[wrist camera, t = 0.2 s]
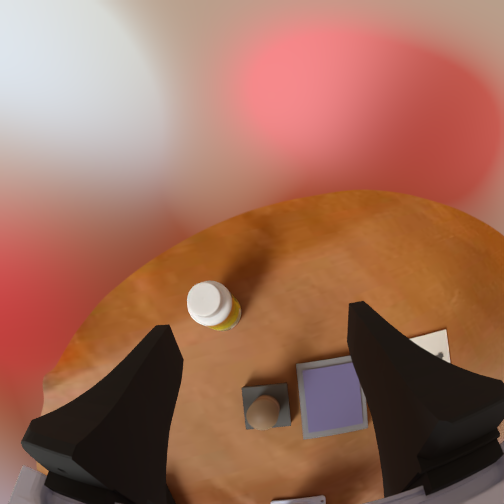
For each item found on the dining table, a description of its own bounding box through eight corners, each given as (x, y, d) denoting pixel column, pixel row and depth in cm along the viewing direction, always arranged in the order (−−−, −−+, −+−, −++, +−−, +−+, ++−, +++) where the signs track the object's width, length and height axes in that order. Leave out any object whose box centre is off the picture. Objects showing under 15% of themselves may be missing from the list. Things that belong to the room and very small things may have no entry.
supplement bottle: (249, 304, 43) (236, 289, 33) (230, 338, 41) (212, 332, 32) (216, 287, 44) (195, 267, 35) (197, 319, 43) (171, 308, 33)
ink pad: (365, 426, 34) (368, 428, 33) (303, 437, 35) (303, 440, 34) (358, 353, 38) (361, 353, 37) (295, 363, 39) (296, 364, 37)
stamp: (291, 422, 36) (291, 437, 29) (248, 426, 37) (238, 440, 29) (286, 382, 38) (286, 388, 31) (243, 386, 39) (233, 393, 31)
